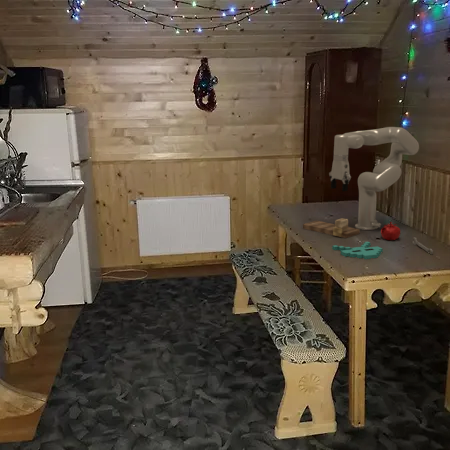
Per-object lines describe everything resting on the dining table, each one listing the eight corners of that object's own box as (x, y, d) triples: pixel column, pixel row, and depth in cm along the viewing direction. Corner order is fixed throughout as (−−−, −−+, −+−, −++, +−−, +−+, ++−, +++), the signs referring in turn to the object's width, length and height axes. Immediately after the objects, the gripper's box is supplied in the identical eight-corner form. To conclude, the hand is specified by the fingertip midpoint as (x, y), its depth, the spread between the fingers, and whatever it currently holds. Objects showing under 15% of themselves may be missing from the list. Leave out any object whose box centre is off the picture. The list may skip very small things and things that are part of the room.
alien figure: (332, 249, 261) (352, 261, 242) (332, 245, 260) (352, 257, 242) (368, 245, 266) (390, 257, 247) (368, 241, 265) (390, 252, 247)
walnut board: (359, 233, 286) (359, 229, 286) (346, 238, 279) (346, 233, 278) (316, 224, 308) (316, 220, 308) (302, 228, 301) (302, 224, 300)
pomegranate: (402, 238, 277) (403, 221, 275) (396, 242, 269) (398, 224, 267) (383, 235, 282) (385, 218, 280) (377, 239, 274) (378, 222, 272)
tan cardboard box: (348, 234, 284) (349, 219, 282) (340, 236, 279) (341, 221, 277) (340, 232, 287) (341, 218, 285) (333, 235, 283) (333, 220, 281)
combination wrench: (433, 248, 247) (414, 236, 266) (430, 248, 247) (412, 236, 266) (432, 256, 248) (414, 243, 267) (430, 256, 248) (411, 243, 267)
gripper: (356, 159, 275) (355, 191, 279) (336, 156, 290) (334, 186, 294) (345, 160, 271) (343, 192, 275) (325, 156, 286) (323, 187, 290)
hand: (339, 189), depth 284 cm, fingers open, 9 cm apart
